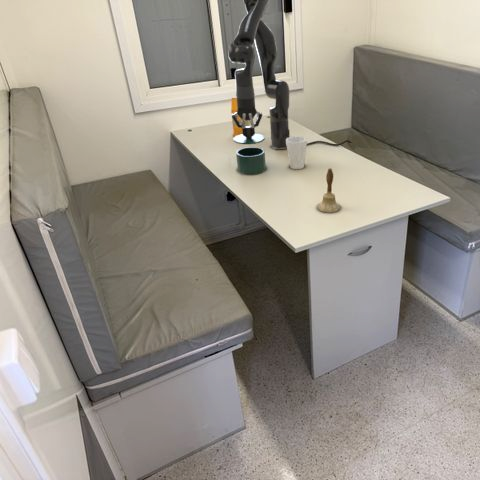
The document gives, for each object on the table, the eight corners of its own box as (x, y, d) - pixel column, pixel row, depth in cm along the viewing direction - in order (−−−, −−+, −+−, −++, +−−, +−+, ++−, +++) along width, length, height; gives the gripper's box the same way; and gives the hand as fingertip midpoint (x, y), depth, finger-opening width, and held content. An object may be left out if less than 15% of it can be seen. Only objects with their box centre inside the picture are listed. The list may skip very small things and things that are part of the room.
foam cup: (310, 164, 203) (310, 137, 196) (301, 171, 196) (301, 144, 189) (292, 161, 206) (291, 135, 200) (283, 168, 199) (282, 141, 193)
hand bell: (338, 202, 169) (339, 164, 161) (340, 212, 162) (341, 173, 154) (317, 203, 169) (317, 164, 160) (318, 212, 162) (318, 173, 153)
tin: (264, 163, 205) (262, 146, 200) (267, 173, 194) (265, 155, 190) (237, 165, 202) (235, 148, 198) (238, 175, 192) (236, 157, 187)
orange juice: (249, 136, 239) (246, 99, 228) (233, 136, 239) (229, 99, 229) (251, 132, 246) (248, 96, 235) (236, 132, 246) (232, 96, 235)
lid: (263, 134, 198) (262, 121, 195) (266, 144, 187) (265, 130, 184) (233, 136, 196) (231, 123, 192) (234, 146, 184) (232, 132, 181)
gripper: (261, 93, 185) (263, 132, 195) (228, 94, 183) (232, 134, 192) (262, 97, 179) (265, 137, 188) (228, 98, 177) (233, 139, 186)
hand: (248, 135), depth 190 cm, fingers closed on lid, 2 cm apart
